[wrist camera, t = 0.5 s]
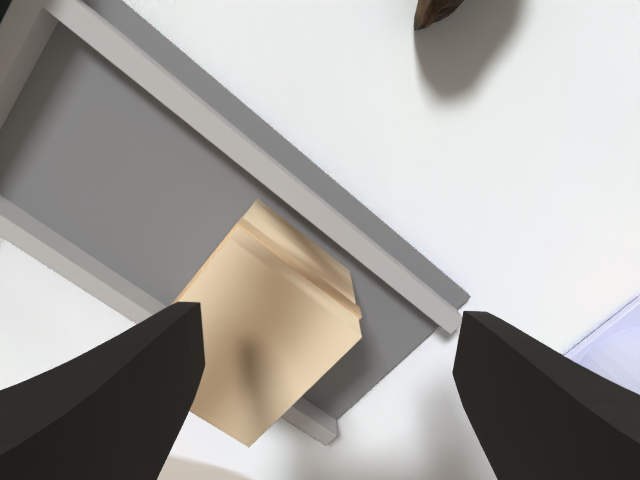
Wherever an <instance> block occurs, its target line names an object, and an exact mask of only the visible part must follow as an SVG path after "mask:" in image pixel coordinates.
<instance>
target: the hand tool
mask: <svg viewBox="0 0 640 480" xmlns="http://www.w3.org/2000/svg"><path fill="white" fill-rule="evenodd" d="M463 1H464V0H418V4H417V9H416V13H415V17H414V31H415V30H420V29H424V28H426V27H428V26H429V25H431V24H432V23H434V22H437V21H440V20H442V19H444V18H445V17H447V16H449V15H450V14H451V13H453V12H454V11H455V10H456V9H457V8H458V6H459V5H460V4H461V3H462V2H463Z"/></svg>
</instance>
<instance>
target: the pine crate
mask: <svg viewBox="0 0 640 480" xmlns="http://www.w3.org/2000/svg"><path fill="white" fill-rule="evenodd" d="M176 302H200V303H201V315H202V327H203V340H204V352H205V364H206V365H205V369H204V372H203V375H202V378H201V382H200V385H199V388H198V391H197V394H196V397H195V399H194V402H193V404H192V406H191V408H190V410H189V411H190V412H192V413H193V414H195V415H197V416H198V417H200V418H202V419H203V420H205V421H207V422H208V423H210V424H212V425H213V426H215V427H216V428H218V429H220V430H221V431H223V432H225V433H226V434H228V435H230V436H231V437H233V438H235V439H236V440H238V441H239V442H241V443H243V444H244V445H246V446H248V447H250V446H251V445H252V444H253V443H254V442H255V441H256V440H257V439H258V438H259V437H260V436H261V435H262V434H263V433H264V432H265V431H266V430H267V429H268V428H269V427H271V426H272V425H273V424H274V423H275V422H276V421H277V420H278V419H279V418H280V417H281V416H282V415H283V414H284V413H285V412H286V411H287V410H288V409H289V408H290V407H291V406H292V405H293V404H294V403H295V402H296V401H297V400H298V399H299V398H300V397H301V396H302V395H303V394H304V393H305V392H306V391H307V390H309V389H310V388H311V387H312V386H313V385H314V384H315V383H316V382H317V381H318V380H319V379H320V378H321V377H322V376H323V375H324V374H325V373H326V372H327V371H328V370H329V369H330V368H331V367H332V366H333V365H334V364H335V363H336V362H337V361H338V360H339V359H340V358H341V357H342V356H343V355H344V354H345V353H347V352H348V351H349V350H350V349H351V348H352V347H353V346H354V345H355V344H356V343H357V342H358V341H359V340H360V339H361V338H362V335H361V330H360V324H359V320H360V319H361V318H362V316H361V311H360V307H359V306H357V305H356V302H355V296H354V291H353V285H352V280H351V274H350V271H349V270H348V269H347V268H346V267H344V266H343V265H342V264H341V263H339V262H338V261H337V260H335V259H334V258H333V257H332V256H330V255H329V254H328V253H327V252H325V251H324V250H323V249H322V248H320V247H319V246H318V245H316V244H315V243H314V242H313V241H311V240H310V239H309V238H308V237H306V236H305V235H304V234H302V233H301V232H300V231H299V230H297V229H296V228H295V227H294V226H292V225H291V224H290V223H289V222H287V221H286V220H285V219H283V218H282V217H281V216H280V215H278V214H277V213H276V212H275V211H273V210H272V209H271V208H270V207H268V206H267V205H266V204H264V203H263V202H262V201H261V200H259V199H258V198H257V199H256V201H255V202H254V203H253V204H252V206H251V207H250V208H249V209H248V211H247V212H246V213H245V214H244V216H243V217H241V218H240V220H239V221H238V222H237V223H236V225H235V226H234V227H233V228H232V230H231V231H230V232H229V233H228V234H227V236H226V237H225V238H224V239H223V241H222V242H221V243H220V244H219V246H218V247H217V248H216V249H215V251H214V252H213V253H212V254H211V256H210V257H209V258H208V259H207V261H206V262H205V263H204V264H203V266H202V267H201V268H200V269H199V271H198V272H197V273H196V274H195V276H194V277H193V278H192V279H191V281H190V282H189V283H188V284H187V286H186V287H185V288H184V289H183V291H182V292H181V293H180V294H179V296H178V297H177V298H176V299H175V301H174V302H173V303H172V304H174V303H176ZM172 304H171V305H172Z"/></svg>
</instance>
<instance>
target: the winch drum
mask: <svg viewBox="0 0 640 480" xmlns="http://www.w3.org/2000/svg"><path fill="white" fill-rule="evenodd" d="M11 2H12V0H0V24H1V22H2V20H3V18H4V16H5V14H6V12H7V10H8V8H9V6H10V4H11Z"/></svg>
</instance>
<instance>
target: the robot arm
mask: <svg viewBox="0 0 640 480" xmlns="http://www.w3.org/2000/svg"><path fill="white" fill-rule="evenodd" d="M205 365H206V364H205V352H204V340H203V327H202V315H201V303H200V302H176V303H174V304H172V305H170V306H168V307H166V308H164V309H163V310H161V311H159V312H157V313H156V314H154V315H152V316H150V317H149V318H147V319H145V320H144V321H142V322H140V323H138V324H137V325H135V326H133V327H132V328H130V329H128V330H126V331H125V332H123V333H121V334H119V335H118V336H116V337H114V338H112V339H110V340H108V341H106V342H105V343H103V344H101V345H99V346H97V347H95V348H93V349H91V350H90V351H88V352H86V353H84V354H82V355H80V356H78V357H76V358H74V359H72V360H70V361H68V362H66V363H64V364H62V365H60V366H58V367H55V368H53V369H51V370H49V371H46V372H44V373H42V374H40V375H37V376H35V377H33V378H30V379H28V380H26V381H23V382H21V383H19V384H16V385H13V386H11V387H8V388H5V389H3V390H0V480H157V478H158V476H159V473H160V471H161V469H162V467H163V465H164V463H165V461H166V459H167V457H168V455H169V453H170V451H171V448H172V446H173V444H174V442H175V440H176V438H177V436H178V434H179V432H180V430H181V427H182V425H183V423H184V421H185V419H186V417H187V415H188V412H189V410H190V408H191V406H192V404H193V402H194V399H195V397H196V394H197V391H198V388H199V385H200V382H201V378H202V375H203V372H204V369H205ZM453 377H454V380H455V383H456V386H457V390H458V393H459V396H460V399H461V402H462V405H463V408H464V410H465V412H466V414H467V416H468V418H469V421H470V423H471V425H472V427H473V429H474V431H475V433H476V436H477V438H478V440H479V442H480V444H481V446H482V448H483V450H484V452H485V454H486V456H487V458H488V460H489V463H490V465H491V467H492V469H493V471H494V473H495V475H496V477H497V479H498V480H640V296H638V297H637V298H636V299H634V300H633V301H632V302H631V303H629V304H628V305H627V306H626V307H624V308H623V309H622V310H621V311H619V312H618V313H617V314H616V315H614V316H613V317H612V318H611V319H609V320H608V321H607V322H605V323H604V324H603V325H602V326H600V327H599V328H598V329H597V330H595V331H594V332H593V333H592V334H590V335H589V336H588V337H587V338H585V339H584V340H583V341H582V342H580V343H579V344H578V345H577V346H575V347H574V348H573V349H571V350H570V351H569V352H568V353H566V354H565V355H564V356H563V355H562V354H560V353H558V352H556V351H555V350H553V349H551V348H549V347H548V346H546V345H544V344H543V343H541V342H539V341H538V340H536V339H534V338H532V337H531V336H529V335H527V334H526V333H524V332H522V331H521V330H519V329H517V328H516V327H514V326H512V325H511V324H509V323H507V322H505V321H503V320H502V319H500V318H498V317H496V316H494V315H492V314H490V313H488V312H480V311H464V312H463V317H462V323H461V328H460V334H459V339H458V345H457V351H456V356H455V362H454V367H453Z"/></svg>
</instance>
